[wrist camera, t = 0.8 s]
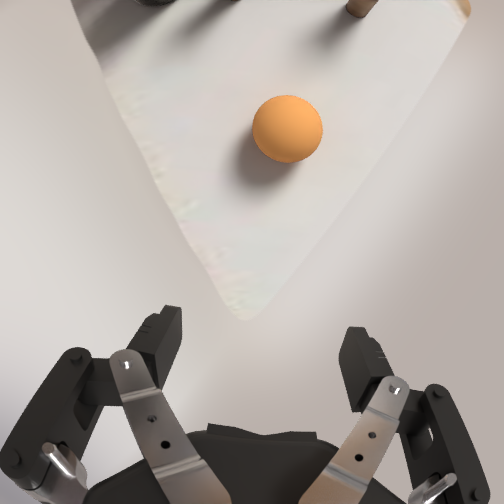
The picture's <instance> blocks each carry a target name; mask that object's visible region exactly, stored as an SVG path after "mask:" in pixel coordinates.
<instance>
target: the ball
mask: <svg viewBox="0 0 504 504" xmlns="http://www.w3.org/2000/svg"><path fill="white" fill-rule="evenodd" d="M252 131H253V137H254V140H255V142H256V144H257V146H258V147H259V149H260V150H261V151H262V152H263V153H264V154H265V155H267V156H268V157H270V158H272V159H274V160H276V161H279V162H286V163H290V162H297V161H300V160H303V159H305V158H307V157H308V156H310V155H311V154H312V153H313V152H314V151H315V150H316V149H317V147H318V146H319V144H320V141H321V138H322V133H323V128H322V122H321V118H320V116H319V114H318V112H317V111H316V109H315V108H314V107H313V106H312V105H311V104H310V103H308V102H307V101H305V100H304V99H301V98H299V97H296V96H289V95H284V96H277V97H274V98H272V99H270V100H268V101H266V102H265V103H264V104H263V105H262V106H261V107H260V108H259V109H258V111H257V112H256V114H255V116H254V120H253V125H252Z"/></svg>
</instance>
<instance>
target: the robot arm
mask: <svg viewBox="0 0 504 504" xmlns="http://www.w3.org/2000/svg"><path fill="white" fill-rule="evenodd" d="M181 340H182V311H181V308H180V307H175V306H169V305H165V306H164V308H163V309H162V311H161V312H160V314H156V313H153V314H152V315H150V316H148V317H147V318H146V319H145V320H144V322H143V323H142V326H140V328H139V329H138V331H137V332H136V334H135V336H134V337H133V339H132V340H131V342H130V343H129V345H128V346H127V348H126V349H123V350H119V351H117V352H115V353H114V354H112V355H111V357H110V358H108V359H103V358H92V357H91V354H90V352H89V351H88V350H87V349H85V348H80V347H75V348H71V349H69V350H67V351H65V352H64V353H63V355H62V356H61V357H60V359H59V360H58V361H57V363H56V364H55V366H54V367H53V369H52V370H51V371H50V373H49V374H48V376H47V377H46V379H45V380H44V381H43V383H42V384H41V386H40V387H39V389H38V390H37V392H36V393H35V395H34V396H33V398H32V399H31V401H30V402H29V404H28V405H27V407H26V409H25V410H24V412H23V413H22V415H21V417H20V419H19V420H18V421H17V423H16V425H15V426H14V428H13V430H12V431H11V433H10V435H9V437H8V438H7V440H6V442H5V444H4V446H3V447H2V449H1V451H0V468H1V470H2V471H3V472H4V473H5V474H6V475H7V476H8V477H9V478H10V479H11V480H13V481H14V482H15V483H16V484H17V486H19V487H20V488H21V489H22V490H23V491H25V492H26V493H27V494H29V495H30V496H31V497H33V498H34V499H36V500H38V501H39V502H41V503H42V504H406V503H405V502H404V501H402V500H401V499H400V498H398V497H397V496H396V495H394V494H393V493H392V492H390V491H389V490H388V489H387V488H385V487H384V486H383V485H382V484H381V483H379V482H378V481H377V480H376V479H374V478H373V474H374V473H375V471H376V470H377V468H378V466H379V464H380V462H381V460H382V458H383V456H384V455H385V453H386V450H387V449H388V447H389V444H390V442H391V440H392V438H393V436H394V434H395V433H399V434H400V438H401V442H402V446H403V449H404V453H405V458H406V462H407V466H408V470H409V474H410V479H411V483H412V488H413V491H412V492H411V494H410V496H409V499H408V504H488V502H489V499H490V490H489V486H488V483H487V480H486V477H485V475H484V472H483V469H482V466H481V464H480V461H479V459H478V456H477V453H476V451H475V448H474V446H473V443H472V441H471V438H470V436H469V434H468V431H467V429H466V427H465V425H464V422H463V420H462V418H461V416H460V414H459V412H458V409H457V408H456V405H455V403H454V401H453V399H452V397H451V395H450V393H449V392H448V390H447V389H446V388H444V387H443V386H441V385H438V384H431V385H429V386H427V388H426V389H425V391H424V392H423V391H417V390H412V389H409V385H408V384H407V383H406V381H404V380H403V379H401V378H399V377H396V376H394V373H393V371H392V369H391V367H390V365H389V363H388V361H387V359H386V358H385V357H386V356H385V354H384V353H383V350H382V348H381V346H380V344H379V343H378V342H377V341H376V340H375V339H374V338H370V337H369V336H368V334H367V332H366V329H365V328H364V327H349V328H348V329H347V332H346V335H345V338H344V341H343V343H342V346H341V349H340V353H339V365H340V368H341V372H342V376H343V379H344V383H345V387H346V390H347V394H348V398H349V402H350V406H351V410H352V412H361V414H362V416H361V418H360V419H359V421H358V422H357V424H356V425H355V427H354V428H353V430H352V431H351V433H350V434H349V436H348V437H347V439H346V440H345V442H344V443H343V444H342V446H341V448H340V449H339V448H338V447H336V446H334V445H332V444H330V443H328V442H326V441H323V440H319V439H317V435H316V432H293V431H292V432H291V431H290V432H284V433H278V434H271V435H259V434H256V433H252V432H249V431H246V430H243V429H239V428H236V427H230V426H223V425H216V424H210V423H208V427H207V430H203V431H195V432H191V433H188V434H185V432H184V431H183V429H182V427H181V425H180V424H179V422H178V420H177V419H176V417H175V415H174V413H173V411H172V410H171V408H170V406H169V404H168V402H167V401H166V399H165V397H164V395H163V393H162V388H163V386H164V384H165V381H166V379H167V376H168V374H169V371H170V369H171V366H172V364H173V361H174V359H175V357H176V354H177V352H178V350H179V347H180V344H181ZM104 406H123V409H124V411H125V414H126V417H127V419H128V422H129V425H130V427H131V429H132V432H133V434H134V437H135V439H136V441H137V444H138V446H139V448H140V450H141V453H142V455H143V457H144V459H142V460H140V461H139V462H137V463H135V464H133V465H132V466H130V467H128V468H126V469H124V470H122V471H121V472H119V473H117V474H115V475H113V476H111V477H109V478H107V479H105V480H103V481H101V482H99V483H97V484H96V485H94V486H93V487H92V488H90V490H88V489H87V486H86V479H87V472H86V469H85V467H84V466H83V464H82V463H81V462H80V460H81V458H82V456H83V453H84V451H85V449H86V446H87V444H88V441H89V439H90V437H91V434H92V432H93V430H94V428H95V425H96V423H97V421H98V418H99V416H100V414H101V412H102V410H103V408H104ZM429 428H430V429H431V431H432V434H433V441H432V438H431V435H430V432H429V430H428V429H429Z"/></svg>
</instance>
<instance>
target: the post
mask: <svg viewBox="0 0 504 504" xmlns="http://www.w3.org/2000/svg"><path fill="white" fill-rule="evenodd" d="M377 2H378V0H349V1H348V3H347V5H346V8H347V10H348V12H349V13H350V14H351V15H353V16H355V17H360V18H361V17H365V16H366V15H367V14H368V12H369V11H370V10H371V9H372V8H373V6H374V5H375V4H376V3H377Z"/></svg>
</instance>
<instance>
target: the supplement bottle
mask: <svg viewBox="0 0 504 504" xmlns="http://www.w3.org/2000/svg"><path fill="white" fill-rule="evenodd" d="M136 1H137V2H138V3H139V4H141V5H144V6H159V5H163V4H166V3H168V2H170V1H172V0H136Z"/></svg>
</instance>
